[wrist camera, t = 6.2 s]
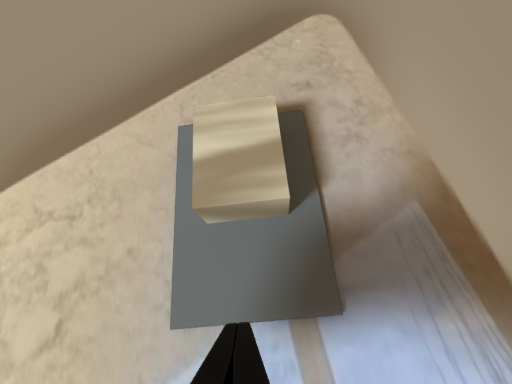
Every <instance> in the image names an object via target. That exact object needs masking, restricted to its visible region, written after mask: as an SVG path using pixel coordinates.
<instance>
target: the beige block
mask: <svg viewBox="0 0 512 384" xmlns="http://www.w3.org/2000/svg"><path fill="white" fill-rule="evenodd" d="M289 202H290V195H289V188H288V182H287V175H286V168H285V161H284V155H283V148H282V141H281V135H280V128H279V121H278V114H277V108H276V101H275V95H271V96H264V97H257V98H249V99H242V100H234V101H227V102H220V103H212V104H205V105H198V106H193V181H192V209H193V210H194V211H195V212H196V213H197V214H198V215H199V216H200V217H201V218H202V219H203V220H204V221H205V222H206V223H207V224H208V223H218V222H227V221H236V220H245V219H254V218H263V217H272V216H281V215H288V213H289Z"/></svg>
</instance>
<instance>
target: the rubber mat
mask: <svg viewBox="0 0 512 384" xmlns="http://www.w3.org/2000/svg"><path fill="white" fill-rule="evenodd" d="M277 114H278V121H279V128H280V135H281V141H282V148H283V155H284V161H285V168H286V175H287V182H288V188H289V195H290V202H289V213H288V215H281V216H272V217H263V218H254V219H245V220H236V221H227V222H218V223H208V224H207V223H206V222H205V221H204V220H203V219H202V218H201V217H200V216H199V215H198V214H197V213H196V212H195V211H194V210H193V209H192V181H193V124H192V125H184V126H178V147H177V172H176V197H175V221H174V246H173V271H172V296H171V321H170V330H173V329H184V328H195V327H207V326H218V325H226V324H227V323H239V322H249V323H252V322H263V321H275V320H286V319H297V318H308V317H320V316H331V315H342V314H343V313H342V308H341V303H340V298H339V293H338V288H337V283H336V278H335V273H334V268H333V263H332V258H331V253H330V248H329V243H328V238H327V232H326V227H325V222H324V217H323V212H322V207H321V202H320V197H319V192H318V187H317V182H316V177H315V172H314V167H313V162H312V157H311V152H310V147H309V142H308V136H307V131H306V126H305V121H304V116H303V111H302V110H298V111H290V112H283V113H277Z"/></svg>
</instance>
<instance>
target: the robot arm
mask: <svg viewBox="0 0 512 384" xmlns="http://www.w3.org/2000/svg"><path fill="white" fill-rule="evenodd" d="M190 384H270V382H269V379H268V376H267V373H266V370H265V367H264V364H263V361H262V358H261V355H260V352H259V349H258V346H257V343H256V340H255V337H254V334H253V331H252V328H251V325H250V323H249V322H239V323H227V324H226V325H225V327H224V328H223V330H222V332H221V333H220V335H219V337H218V338H217V340H216V342H215V343H214V345H213V347H212V348H211V350H210V352H209V353H208V355H207V357H206V358H205V360H204V362H203V363H202V365H201V366H200V368H199V370H198V371H197V373H196V375H195V376H194V378H193V380H192V381H191V383H190Z"/></svg>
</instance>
